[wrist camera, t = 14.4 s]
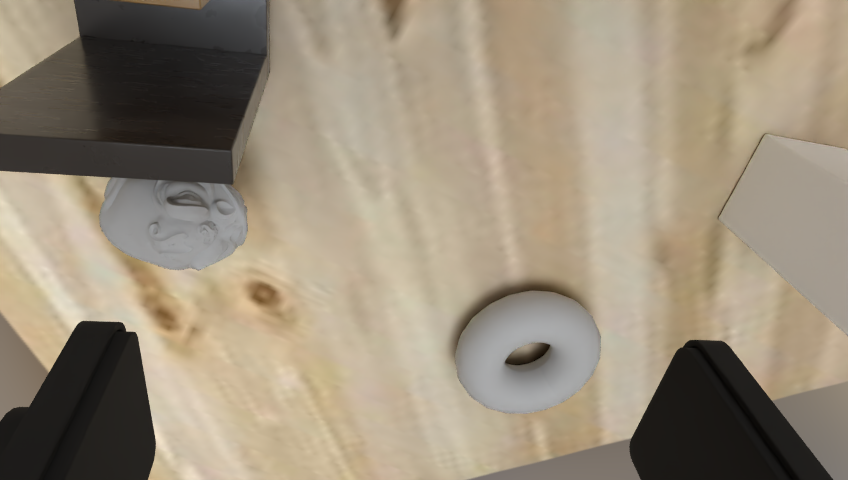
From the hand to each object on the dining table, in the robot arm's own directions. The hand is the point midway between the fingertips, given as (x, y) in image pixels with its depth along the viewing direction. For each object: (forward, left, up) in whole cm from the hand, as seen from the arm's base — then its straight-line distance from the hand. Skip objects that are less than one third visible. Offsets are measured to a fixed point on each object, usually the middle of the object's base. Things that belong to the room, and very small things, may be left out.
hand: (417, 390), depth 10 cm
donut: (+18, +12, -22) cm, 31 cm away
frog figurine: (+7, -9, -22) cm, 25 cm away
